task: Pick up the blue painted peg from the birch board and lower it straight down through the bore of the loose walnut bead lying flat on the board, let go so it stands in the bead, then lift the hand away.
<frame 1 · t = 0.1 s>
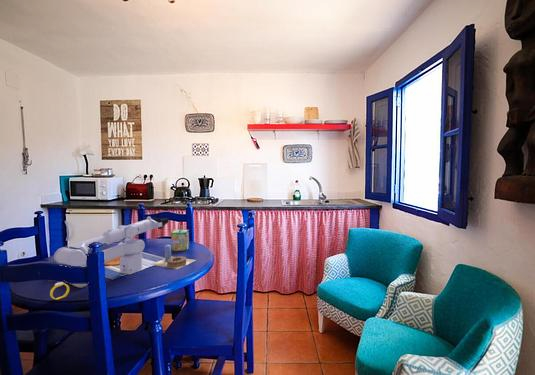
hand: (162, 220, 148), 22 cm above the table, tool horizontal, fingers open, 7 cm apart
peg: (168, 260, 144), point 1 cm above the table, touching board
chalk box: (180, 249, 166), on the table
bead: (177, 264, 138), point 1 cm above the table, touching board
tube: (72, 282, 120), on the table
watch: (60, 298, 104), on the table
board: (174, 263, 141), on the table
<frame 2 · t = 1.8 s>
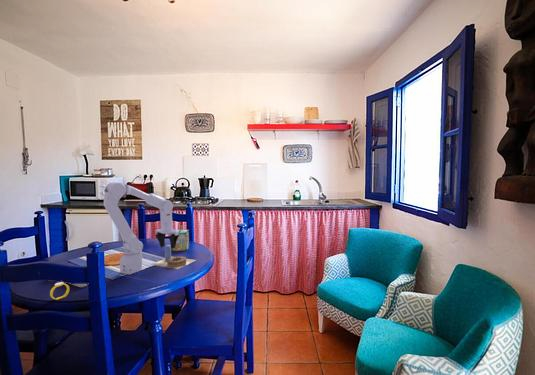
hand: (167, 247, 143), 8 cm above the table, tool pointing down, fingers open, 7 cm apart
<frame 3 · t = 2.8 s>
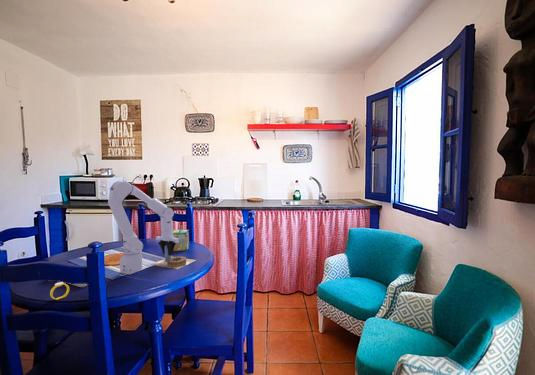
hand: (168, 254, 143), 4 cm above the table, tool pointing down, fingers closed on peg, 3 cm apart
peg: (168, 260, 144), point 1 cm above the table, touching board, gripper
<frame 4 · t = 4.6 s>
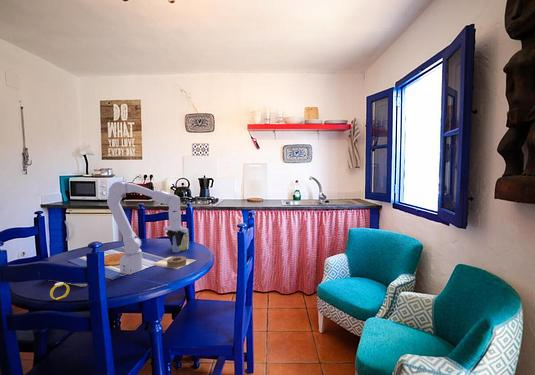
hand: (176, 245, 137), 10 cm above the table, tool pointing down, fingers closed on peg, 3 cm apart
peg: (176, 251, 138), point 7 cm above the table, touching gripper
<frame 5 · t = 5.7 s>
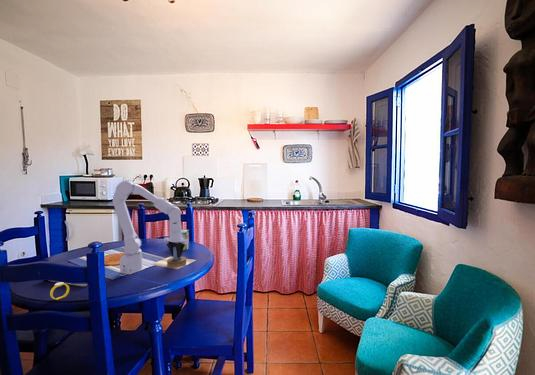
hand: (176, 256, 138), 4 cm above the table, tool pointing down, fingers closed on peg, 3 cm apart
peg: (177, 262, 138), point 1 cm above the table, touching gripper
when the fingers open (4 cm above the table, at t = 6.4 s): peg stays where it is, resting on board.
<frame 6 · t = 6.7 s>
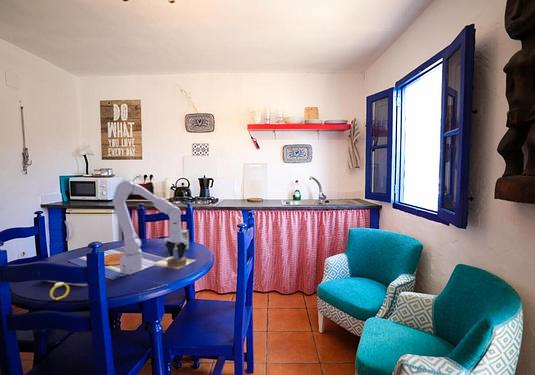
hand: (176, 256, 138), 4 cm above the table, tool pointing down, fingers open, 5 cm apart
peg: (177, 263, 138), point 1 cm above the table, touching board
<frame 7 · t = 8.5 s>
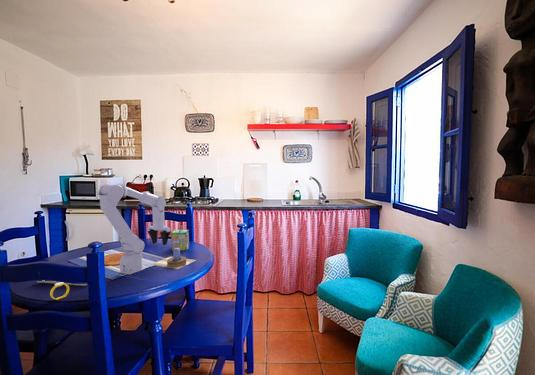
hand: (159, 243, 144), 9 cm above the table, tool pointing down, fingers open, 7 cm apart
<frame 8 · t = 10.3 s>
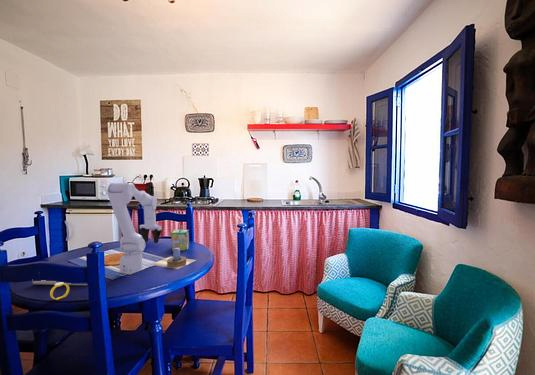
hand: (151, 242, 148), 9 cm above the table, tool pointing down, fingers open, 7 cm apart
at the end: peg 0.1 cm from the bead (horizontally); peg point 0.6 cm above the table; peg tilted 1° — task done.
